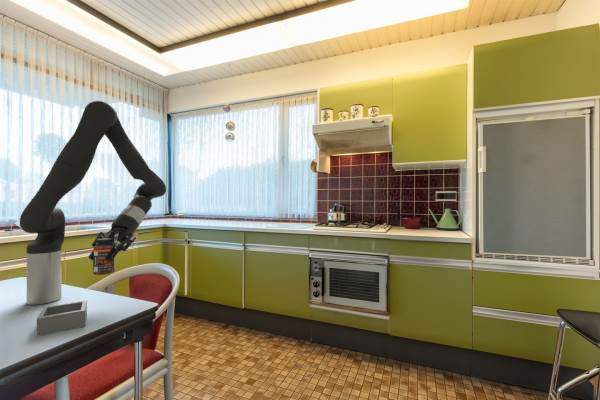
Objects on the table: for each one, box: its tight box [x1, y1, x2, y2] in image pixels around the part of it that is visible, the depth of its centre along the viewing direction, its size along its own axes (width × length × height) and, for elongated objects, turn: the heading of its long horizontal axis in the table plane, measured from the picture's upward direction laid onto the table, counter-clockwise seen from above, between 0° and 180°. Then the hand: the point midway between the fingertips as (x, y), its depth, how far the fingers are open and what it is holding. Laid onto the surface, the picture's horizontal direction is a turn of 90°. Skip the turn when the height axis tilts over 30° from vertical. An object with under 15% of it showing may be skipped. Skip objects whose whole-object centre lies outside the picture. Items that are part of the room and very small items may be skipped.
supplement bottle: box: [92, 238, 116, 276], centre depth 94 cm, size 6×6×11 cm
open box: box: [36, 299, 88, 337], centre depth 81 cm, size 10×10×4 cm
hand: (99, 259), depth 92 cm, fingers closed on supplement bottle, 6 cm apart
